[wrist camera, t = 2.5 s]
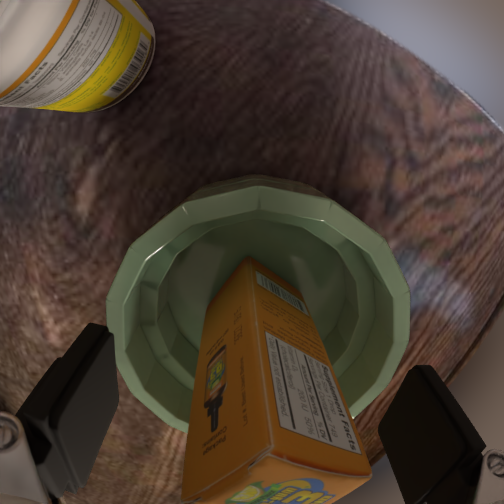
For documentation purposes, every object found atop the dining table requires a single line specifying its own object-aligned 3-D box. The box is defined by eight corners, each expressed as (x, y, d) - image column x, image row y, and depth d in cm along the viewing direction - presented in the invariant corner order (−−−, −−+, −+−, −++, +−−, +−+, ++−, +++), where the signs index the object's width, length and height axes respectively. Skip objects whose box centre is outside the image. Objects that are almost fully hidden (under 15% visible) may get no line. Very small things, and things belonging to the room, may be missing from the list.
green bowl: (98, 268, 14) (53, 311, 10) (290, 125, 13) (311, 114, 8) (233, 410, 17) (230, 471, 13) (402, 314, 16) (441, 364, 11)
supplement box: (264, 342, 15) (280, 536, 6) (205, 305, 15) (161, 504, 5) (309, 292, 15) (380, 484, 5) (248, 249, 14) (251, 446, 4)
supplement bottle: (53, 27, 10) (-96, -30, 1) (157, -8, 10) (56, -148, 1) (55, 128, 12) (-131, 144, 3) (163, 100, 12) (-4, 27, 2)
